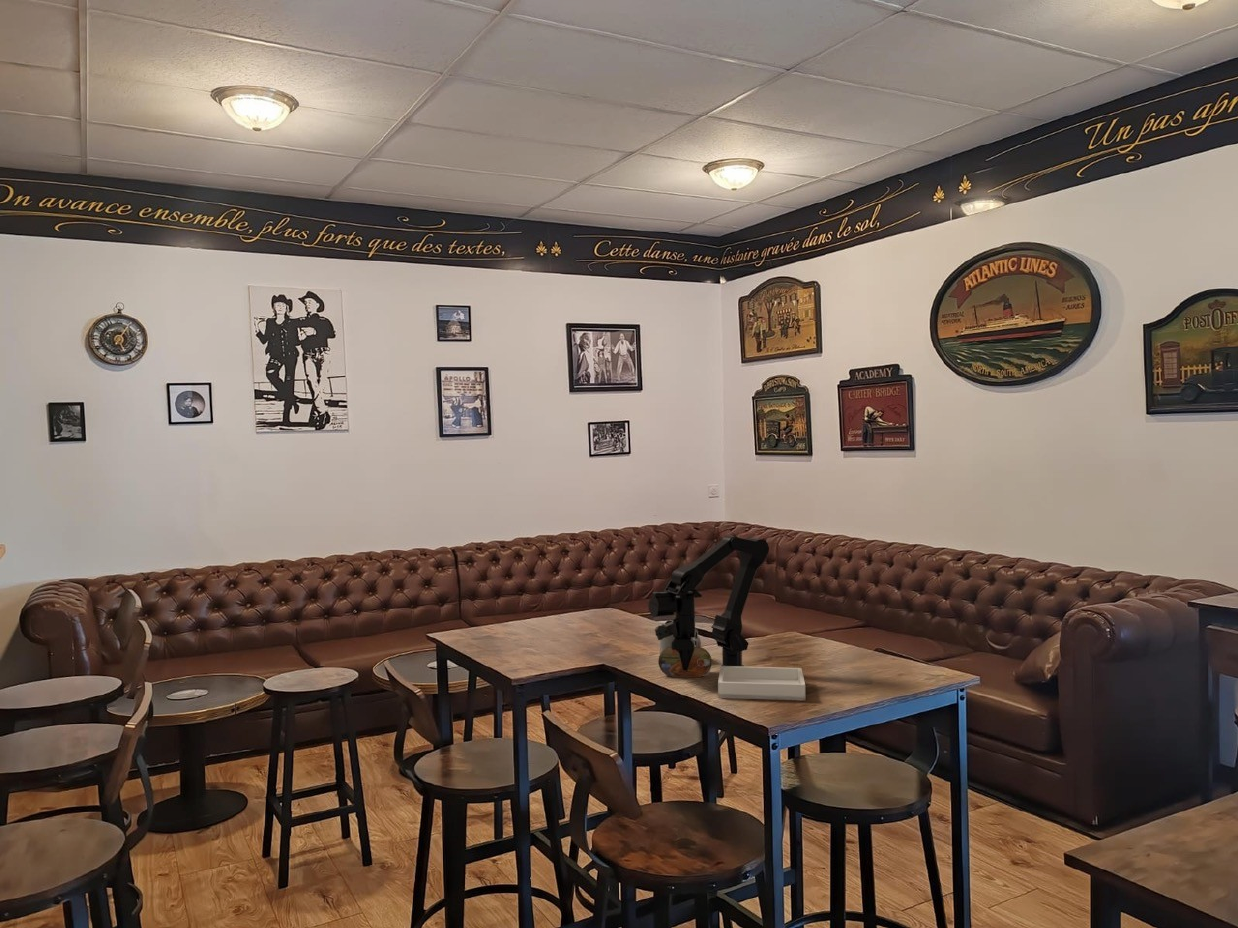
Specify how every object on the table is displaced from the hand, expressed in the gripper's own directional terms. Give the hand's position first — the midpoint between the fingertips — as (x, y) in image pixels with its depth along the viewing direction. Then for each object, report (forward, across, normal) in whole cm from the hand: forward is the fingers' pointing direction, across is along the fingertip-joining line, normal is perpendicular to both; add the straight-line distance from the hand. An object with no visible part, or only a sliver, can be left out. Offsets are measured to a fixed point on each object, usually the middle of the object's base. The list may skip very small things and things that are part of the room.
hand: (685, 668), depth 255 cm
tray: (+2, +13, +21) cm, 25 cm away
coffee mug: (+2, -20, -3) cm, 20 cm away
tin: (+2, 0, 0) cm, 2 cm away
